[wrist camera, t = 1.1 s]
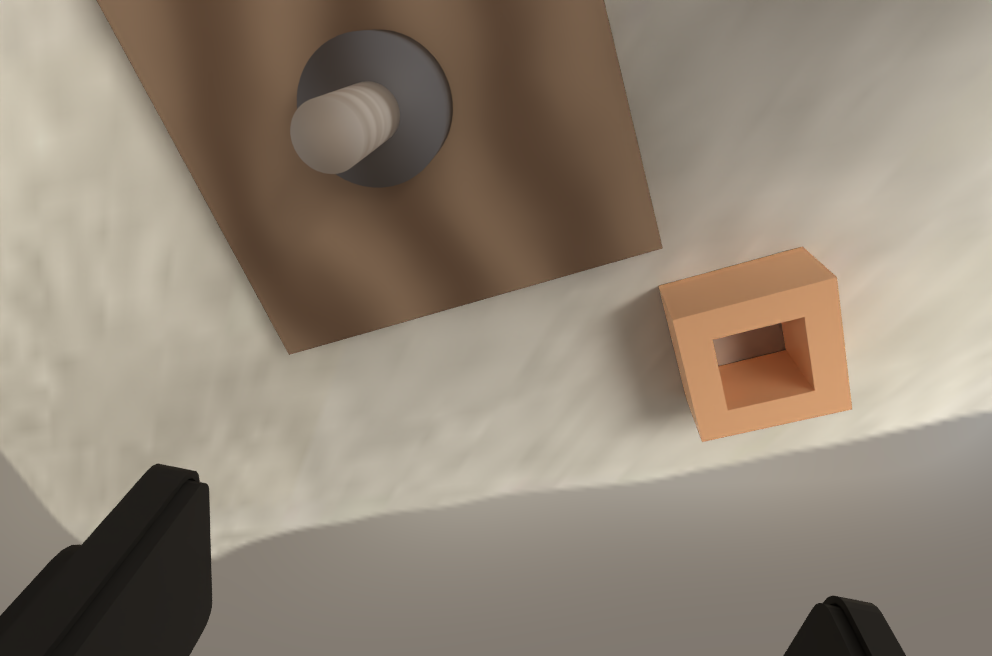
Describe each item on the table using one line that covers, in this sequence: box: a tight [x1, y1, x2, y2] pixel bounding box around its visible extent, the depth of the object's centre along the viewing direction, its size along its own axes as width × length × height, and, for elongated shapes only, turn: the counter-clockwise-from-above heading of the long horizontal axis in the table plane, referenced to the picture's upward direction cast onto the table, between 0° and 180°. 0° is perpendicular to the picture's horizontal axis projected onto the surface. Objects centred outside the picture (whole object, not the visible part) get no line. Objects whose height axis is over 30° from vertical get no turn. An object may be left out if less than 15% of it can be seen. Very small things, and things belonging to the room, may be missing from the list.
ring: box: [659, 247, 852, 442], centre depth 30 cm, size 7×7×4 cm
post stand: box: [97, 0, 662, 355], centre depth 24 cm, size 20×20×10 cm
